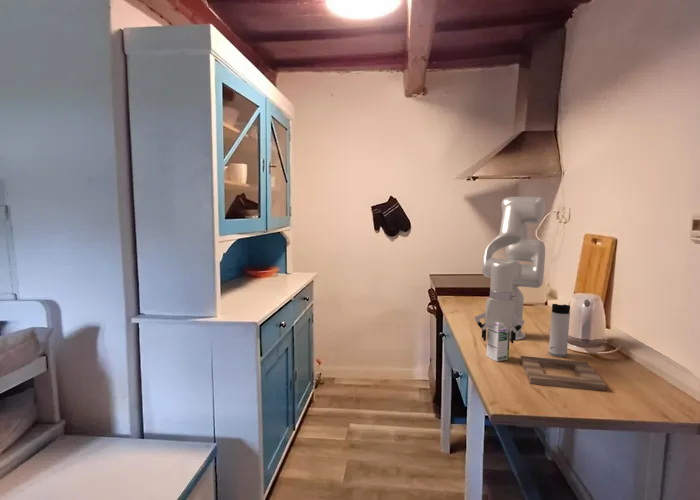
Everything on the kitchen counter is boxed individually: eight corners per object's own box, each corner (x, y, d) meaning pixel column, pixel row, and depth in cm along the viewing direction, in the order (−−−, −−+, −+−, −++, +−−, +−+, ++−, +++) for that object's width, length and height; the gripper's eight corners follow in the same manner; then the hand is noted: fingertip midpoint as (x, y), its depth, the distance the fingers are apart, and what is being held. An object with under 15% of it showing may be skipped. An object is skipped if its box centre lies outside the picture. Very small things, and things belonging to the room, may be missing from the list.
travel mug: (549, 356, 165) (553, 304, 162) (548, 350, 171) (551, 300, 169) (567, 358, 163) (571, 306, 160) (565, 353, 169) (569, 302, 166)
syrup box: (496, 362, 158) (498, 323, 157) (485, 356, 164) (487, 318, 162) (508, 359, 161) (511, 321, 159) (497, 354, 166) (499, 317, 164)
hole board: (520, 361, 159) (520, 355, 159) (586, 367, 155) (586, 361, 154) (530, 383, 140) (530, 377, 140) (605, 391, 135) (606, 384, 135)
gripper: (524, 295, 161) (521, 340, 163) (475, 292, 165) (473, 336, 167) (527, 299, 154) (524, 346, 156) (476, 296, 158) (474, 342, 160)
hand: (498, 341), depth 161 cm, fingers open, 9 cm apart
